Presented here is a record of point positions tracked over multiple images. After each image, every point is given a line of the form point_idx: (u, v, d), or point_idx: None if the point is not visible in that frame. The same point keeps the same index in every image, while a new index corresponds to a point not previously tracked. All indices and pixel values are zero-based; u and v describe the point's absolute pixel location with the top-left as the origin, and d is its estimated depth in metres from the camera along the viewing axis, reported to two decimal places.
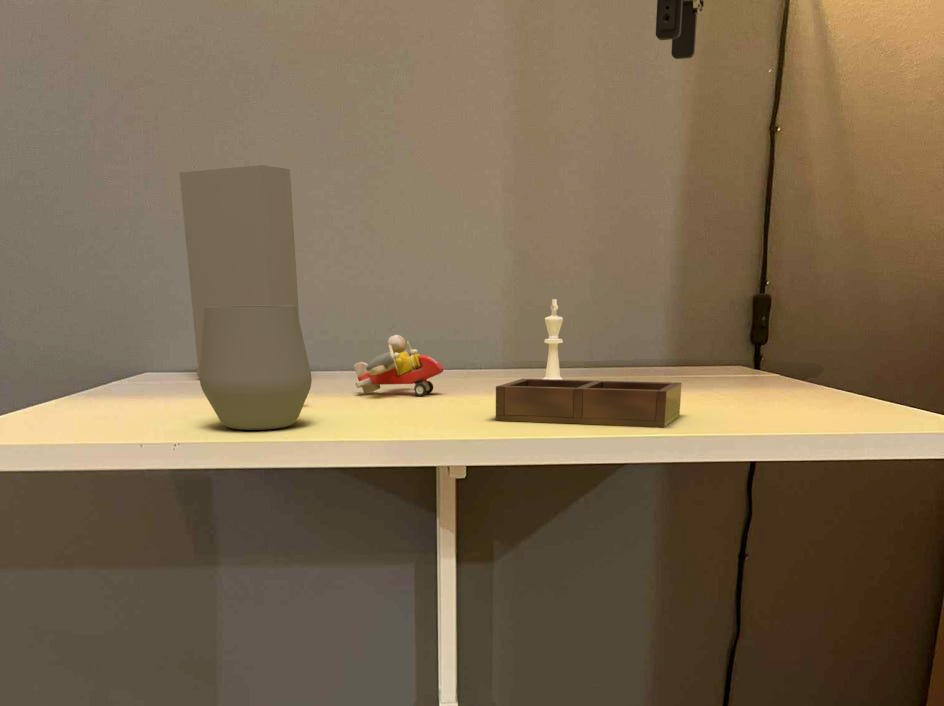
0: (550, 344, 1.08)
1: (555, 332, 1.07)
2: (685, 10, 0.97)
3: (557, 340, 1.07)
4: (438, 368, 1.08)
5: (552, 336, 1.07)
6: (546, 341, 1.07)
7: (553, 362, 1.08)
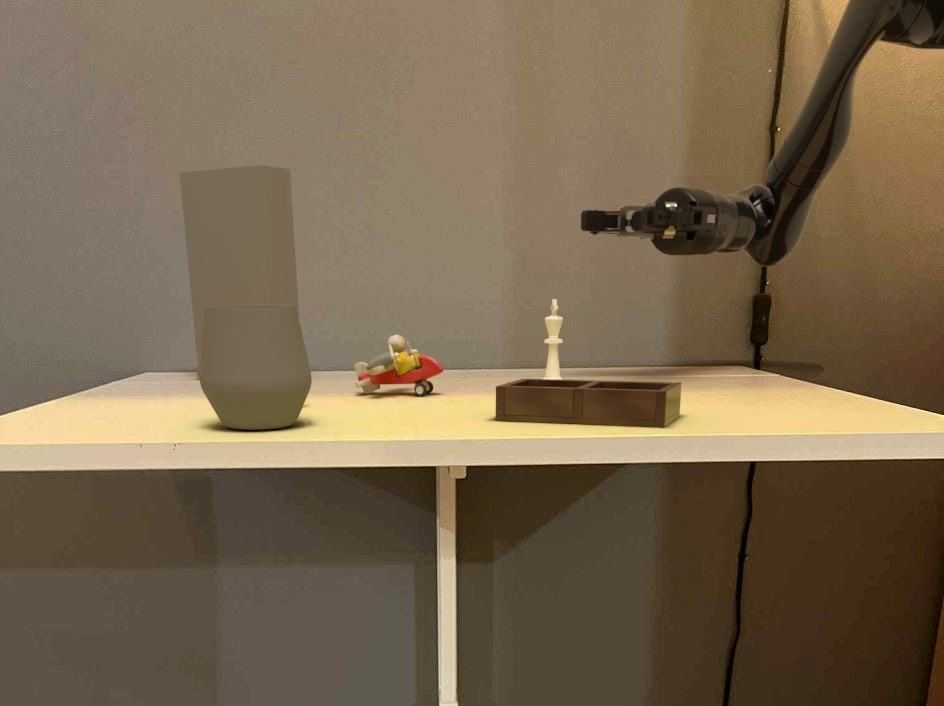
0: (550, 344, 1.08)
1: (555, 332, 1.07)
2: None
3: (557, 340, 1.07)
4: (438, 368, 1.08)
5: (552, 336, 1.07)
6: (546, 341, 1.07)
7: (553, 362, 1.08)
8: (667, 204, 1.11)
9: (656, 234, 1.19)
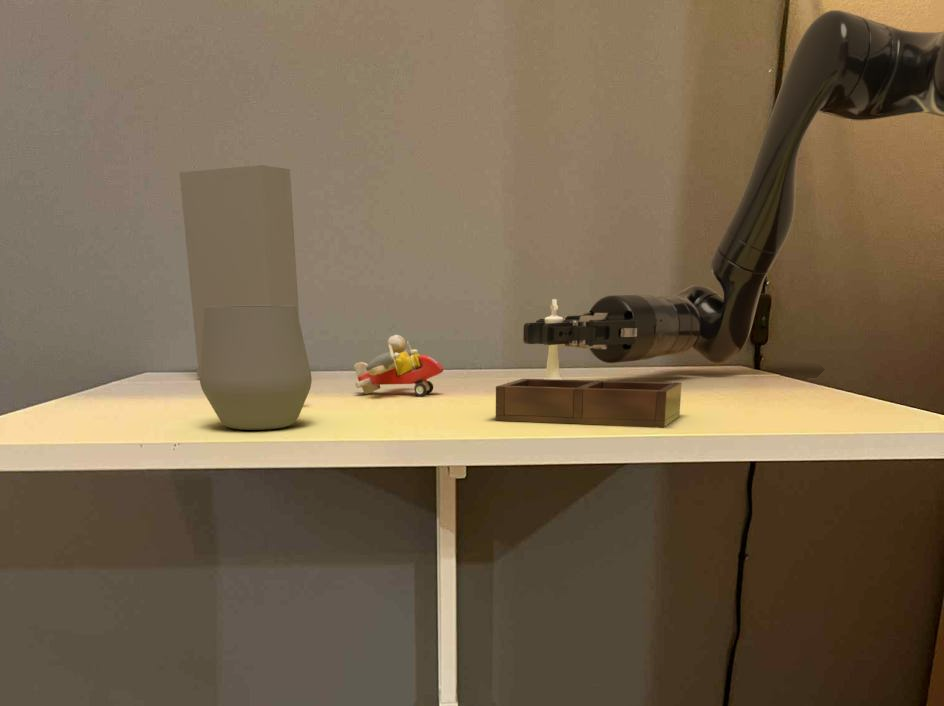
0: None
1: None
2: None
3: None
4: (438, 368, 1.08)
5: None
6: None
7: (553, 362, 1.08)
8: (581, 317, 1.08)
9: None
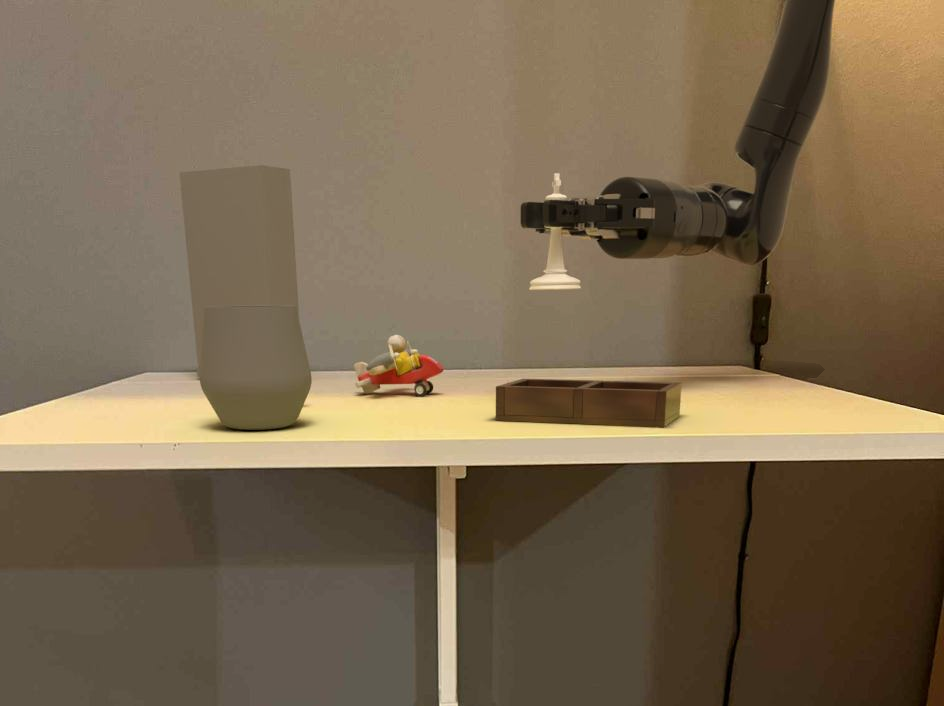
0: (552, 229, 0.91)
1: None
2: None
3: None
4: (438, 368, 1.08)
5: None
6: None
7: (556, 250, 0.92)
8: (588, 197, 0.92)
9: None
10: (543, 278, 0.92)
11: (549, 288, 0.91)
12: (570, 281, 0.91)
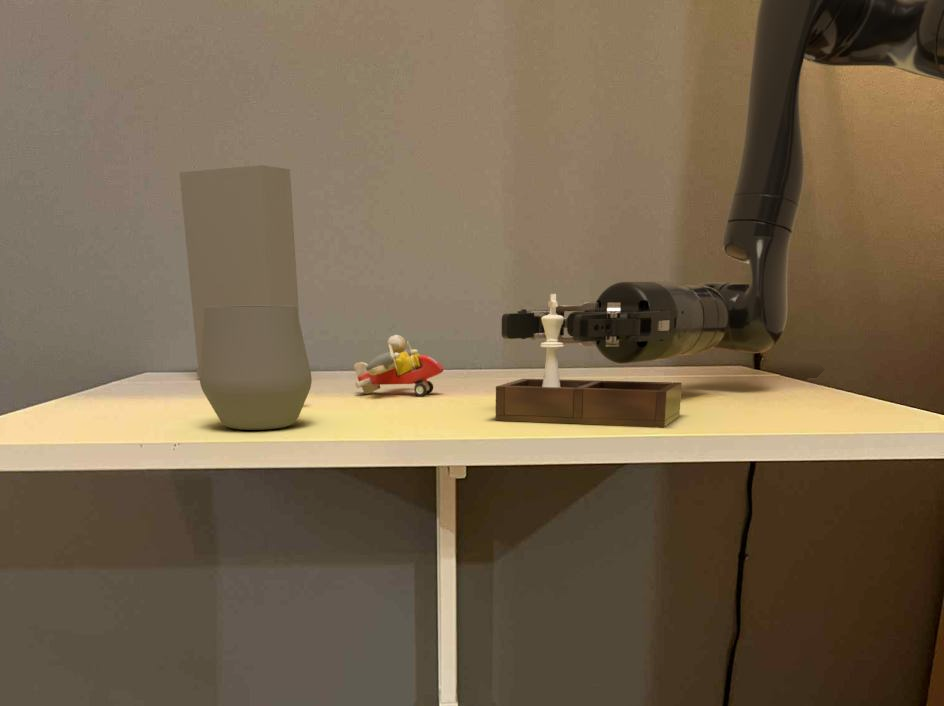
0: (548, 349, 0.89)
1: (554, 334, 0.88)
2: None
3: (556, 344, 0.88)
4: (438, 368, 1.08)
5: (550, 340, 0.88)
6: (543, 345, 0.88)
7: (552, 371, 0.89)
8: (608, 308, 0.88)
9: None
10: None
11: None
12: None
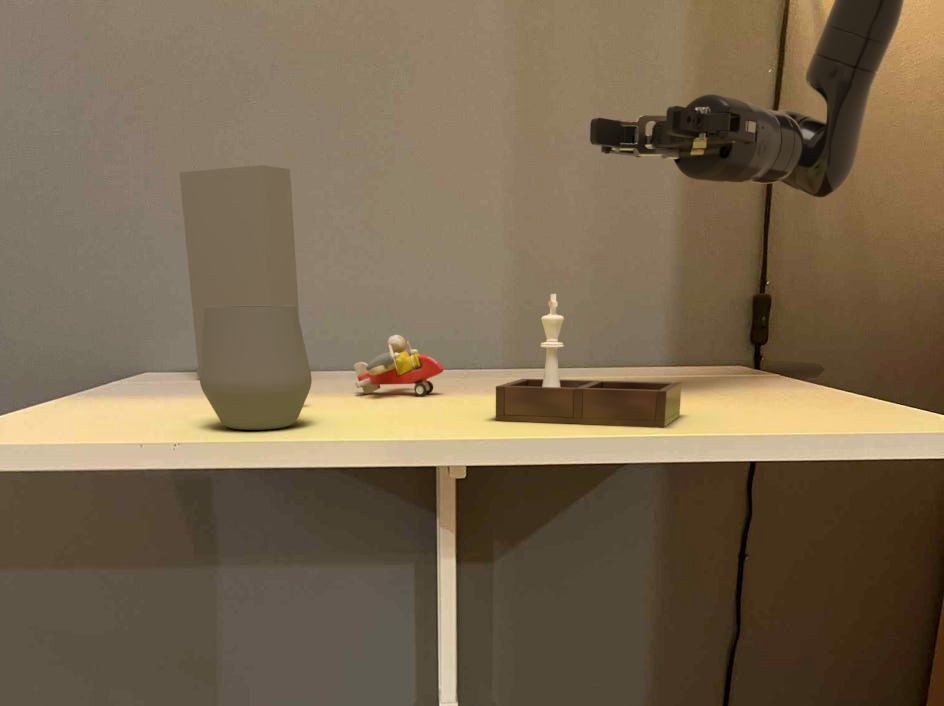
0: (548, 349, 0.89)
1: (554, 334, 0.88)
2: None
3: (557, 344, 0.88)
4: (438, 368, 1.08)
5: (551, 340, 0.88)
6: (543, 345, 0.88)
7: (552, 371, 0.89)
8: (697, 108, 0.90)
9: (682, 154, 0.98)
10: None
11: None
12: None
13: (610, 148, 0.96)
